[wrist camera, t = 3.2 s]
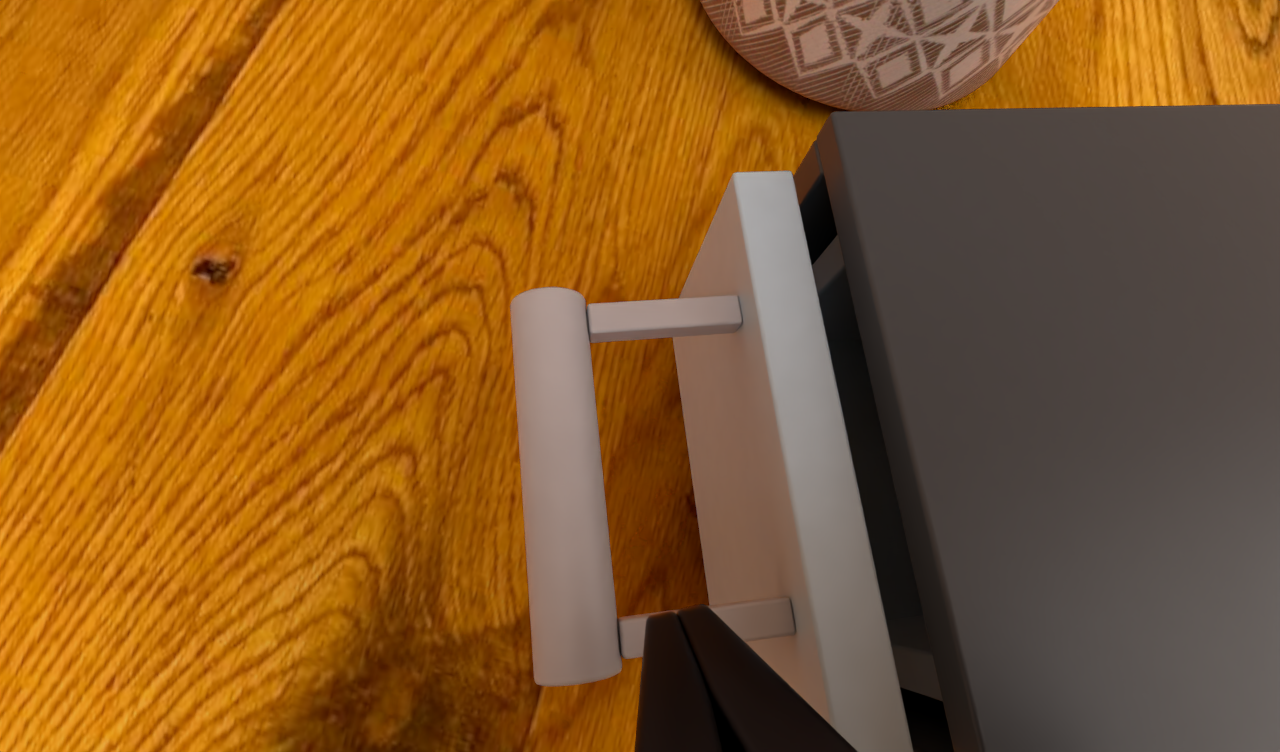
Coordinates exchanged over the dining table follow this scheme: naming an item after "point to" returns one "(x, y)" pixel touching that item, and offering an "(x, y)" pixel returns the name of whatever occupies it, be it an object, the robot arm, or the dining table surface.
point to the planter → (877, 46)
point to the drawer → (734, 472)
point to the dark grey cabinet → (1075, 411)
